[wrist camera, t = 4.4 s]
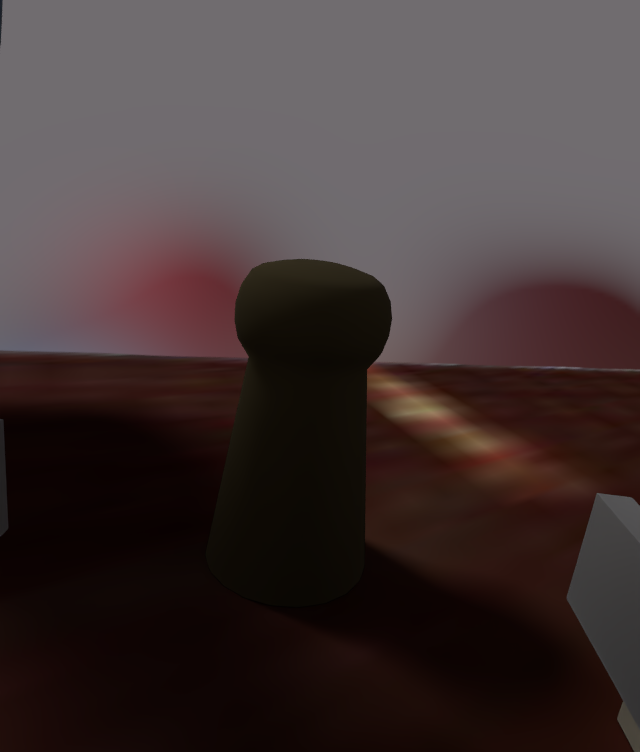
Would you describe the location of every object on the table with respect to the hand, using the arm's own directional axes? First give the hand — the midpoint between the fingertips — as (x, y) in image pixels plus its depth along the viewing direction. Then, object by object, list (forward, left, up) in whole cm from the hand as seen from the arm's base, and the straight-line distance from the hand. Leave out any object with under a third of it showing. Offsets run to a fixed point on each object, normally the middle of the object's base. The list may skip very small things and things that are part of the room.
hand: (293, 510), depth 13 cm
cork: (0, +8, -7) cm, 10 cm away
